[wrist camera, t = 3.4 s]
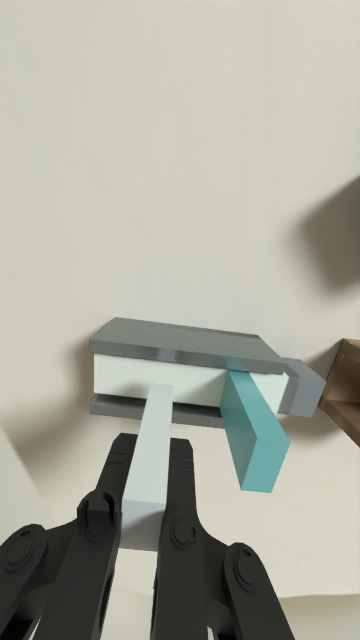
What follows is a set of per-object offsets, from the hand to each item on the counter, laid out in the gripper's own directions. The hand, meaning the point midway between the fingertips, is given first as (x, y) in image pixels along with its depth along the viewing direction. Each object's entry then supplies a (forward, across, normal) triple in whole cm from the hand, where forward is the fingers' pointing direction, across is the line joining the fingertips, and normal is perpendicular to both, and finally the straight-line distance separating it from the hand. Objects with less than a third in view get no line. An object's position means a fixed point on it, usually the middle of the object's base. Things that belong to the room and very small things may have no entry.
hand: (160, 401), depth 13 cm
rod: (+6, +4, 0) cm, 7 cm away
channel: (+7, +2, 0) cm, 7 cm away
